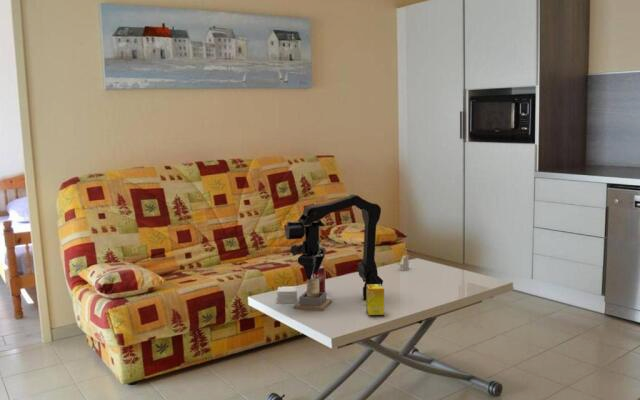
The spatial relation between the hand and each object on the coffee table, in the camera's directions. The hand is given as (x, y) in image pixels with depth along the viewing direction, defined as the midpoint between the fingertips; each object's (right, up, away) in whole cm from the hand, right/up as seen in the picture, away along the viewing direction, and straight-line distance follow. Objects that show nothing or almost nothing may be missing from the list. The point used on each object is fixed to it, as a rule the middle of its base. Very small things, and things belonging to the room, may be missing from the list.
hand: (312, 276), depth 235 cm
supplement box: (+24, -13, -10) cm, 29 cm away
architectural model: (+44, -5, +57) cm, 72 cm away
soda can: (+2, -10, +17) cm, 19 cm away
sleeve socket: (0, -12, +2) cm, 12 cm away
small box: (-10, -11, +8) cm, 17 cm away
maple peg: (0, -10, +1) cm, 10 cm away
